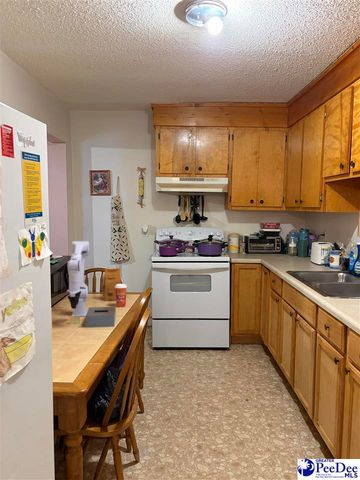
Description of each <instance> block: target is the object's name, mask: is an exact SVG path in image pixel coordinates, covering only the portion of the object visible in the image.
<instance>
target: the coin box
mask: <svg viewBox="0 0 360 480" xmlns="http://www.w3.org/2000/svg"><path fill="white" fill-rule="evenodd" d="M116 307H117V306H94V307H93V306H91V307H88V309H87V314H86V316H84V317H85V319H84V320H85V321H84V322H85V328H103V327H105V328H106V327H115V325H116V317H117V316H116V315H117V314H116V313H117V311H116V309H117V308H116Z"/></svg>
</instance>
